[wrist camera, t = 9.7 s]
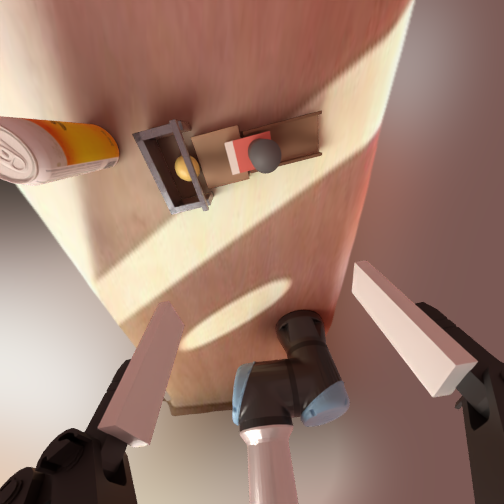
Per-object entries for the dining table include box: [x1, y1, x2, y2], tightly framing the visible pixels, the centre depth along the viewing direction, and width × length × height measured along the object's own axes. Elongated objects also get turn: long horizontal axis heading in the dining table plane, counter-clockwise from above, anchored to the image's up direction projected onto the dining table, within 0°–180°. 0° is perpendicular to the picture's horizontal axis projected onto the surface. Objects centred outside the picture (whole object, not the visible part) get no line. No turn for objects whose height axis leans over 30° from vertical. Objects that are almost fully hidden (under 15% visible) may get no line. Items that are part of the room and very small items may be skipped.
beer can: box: [0, 116, 119, 185], centre depth 23 cm, size 6×6×15 cm
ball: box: [175, 156, 200, 181], centre depth 31 cm, size 4×4×4 cm
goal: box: [132, 119, 213, 214], centre depth 29 cm, size 12×7×8 cm, turn 13°
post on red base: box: [224, 131, 282, 175], centre depth 25 cm, size 4×7×11 cm, turn 103°
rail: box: [242, 111, 322, 173], centre depth 30 cm, size 6×12×3 cm, turn 103°
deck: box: [191, 125, 249, 189], centre depth 31 cm, size 8×8×2 cm
